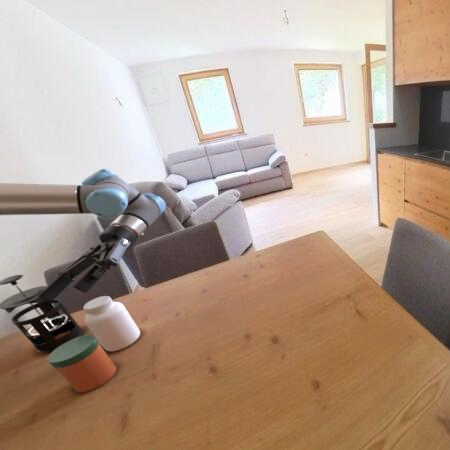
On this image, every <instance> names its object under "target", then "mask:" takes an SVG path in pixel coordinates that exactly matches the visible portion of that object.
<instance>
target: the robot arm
mask: <svg viewBox="0 0 450 450" xmlns="http://www.w3.org/2000/svg"><path fill="white" fill-rule="evenodd" d="M166 205H167V204H166V201H165V200H164V199H163V198H162V197H161V196H159V195H156V194H154V193H152V192H151V193H150V192H146V193H141V192H140V191H138V190H137V189H136V188H134V187H133V186H131V185H130V184H128V182H126V181H125V180H124V179H122V178H121V177H119V175H117V174H115V173H113V172H112V171H111V170H109V169H107V168H101V169H99V170H97V171H95V172H93V173H91V175H89V176H88V177H86V178H85V179H83V181H82V182H81V184H79V185H78V184H55V183H53V184H52V183H21V182H20V183H19V182H17V183H16V182H13V183H12V182H0V216H33V215H34V216H35V215H36V216H37V215H38V216H39V215H79V214H81V215H83V214H87V215H88V214H91V215H92V214H93V215H95V216H97V217H101V218H114V217H117V218H115V219H114V220H113V221H112V222H110V224H109V225H108V226H107V227H106V228H104V230H103V231H102V232H100V233H99V234H98V238H99V240H100V242H101V243H100V244H96V245H94V246H91V247H90V248H89V249H88V250H87V251H85V252H84V253H83V254H82V255H80V256H79V257H78V258H76V259H75V260H74V261H73V262H71V263H70V264H69V265H68V266H66V267H65V268H64V269H62V270H60V271H59V272H58V273H57V276H58V277H57V278H56V279H55V280H53V282H51V284H49V285H48V288H46V289H45V290H44V291H43V292H42V293H41V294H40V295H39V296H38V297H40V298H43V299H45V300H48V301H50V302H51V301H53V300H54V299H57V297H58V296H59V295H60V294H62V293H63V291H64V290H65V289H66V288H67V287H68V286H69V285H70V284H72V282H73V283H74V282H75V281H76V279H75V278H76V277H78V276H79V275H80V274H82V273H83V272H85V271H86V270H88V268H90V267H91V268H90V269H89V270H88V271H87V272H86V273H85V274H84V275H83V276H82V277H81V278H80V279H79V280H78V281H77V282H76V283H75V284H74V285H73V286H72V288H74V289H76V290H78V291H80V292H82V293H84V294H86V293H88V292H89V291H90V289H92V288H93V286H94V285H95V284H96V283H97V282H98V281H99V280H100V279H101V277H103V275H104V274H106V272H107V270H110V269H112V267H117V266H118V265H119V264H120V261H121V260H122V257H123V256H124V254H125V253H126V250H128V249H131V247H132V246H133V245H134V244H135V243H136V242H137V240H138V239H139V238H141V237H143V236H144V235H145V234H144V233H145V232H146V231H147V229H148V228H149V227H150V226H151V225H152V224H153V223H154V222H155V221H156V220H157V219H158V218H159V217H161V215H162V213H163V212H164V211H165V209H166V207H167V206H166Z"/></svg>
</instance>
